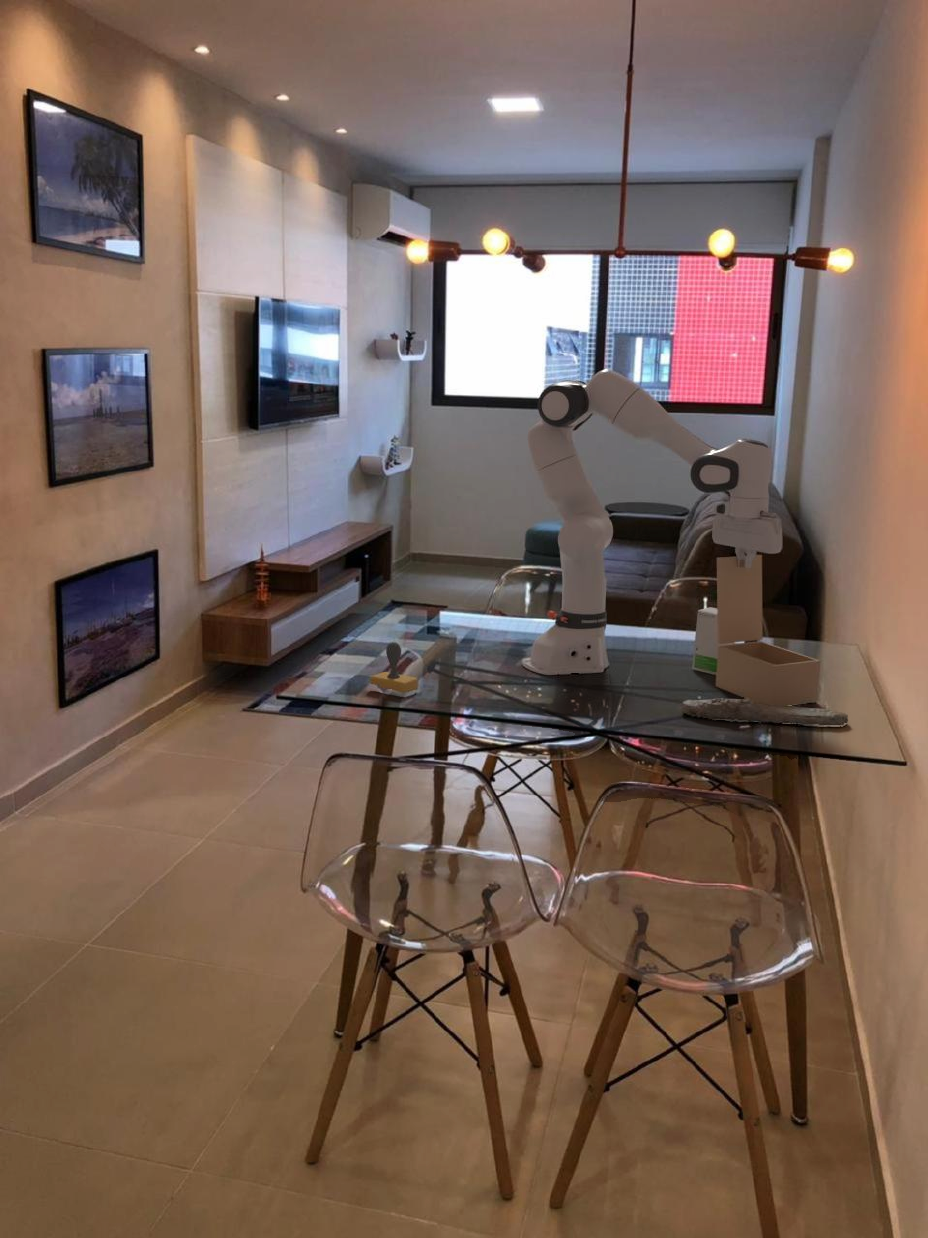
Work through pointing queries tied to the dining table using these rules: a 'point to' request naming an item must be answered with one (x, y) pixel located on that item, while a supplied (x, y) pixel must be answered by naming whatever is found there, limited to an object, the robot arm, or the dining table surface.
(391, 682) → the rubber stamp
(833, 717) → the long grey stone
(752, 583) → the lid flap
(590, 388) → the robot arm
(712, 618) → the skincare box
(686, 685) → the dining table surface
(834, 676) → the dining table surface
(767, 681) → the carton
